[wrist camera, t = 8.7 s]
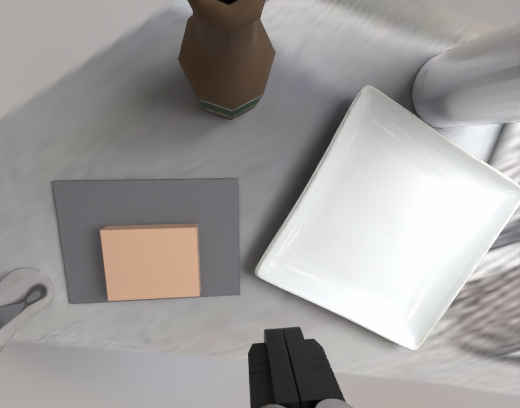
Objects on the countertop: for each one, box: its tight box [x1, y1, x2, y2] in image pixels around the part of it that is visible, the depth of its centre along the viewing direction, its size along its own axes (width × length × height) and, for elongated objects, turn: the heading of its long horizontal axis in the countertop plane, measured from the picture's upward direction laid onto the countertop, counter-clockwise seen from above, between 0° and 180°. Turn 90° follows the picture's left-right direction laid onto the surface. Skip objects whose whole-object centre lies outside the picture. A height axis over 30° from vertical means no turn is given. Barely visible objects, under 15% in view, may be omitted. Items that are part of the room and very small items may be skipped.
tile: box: [100, 223, 201, 301], centre depth 36 cm, size 2×9×11 cm
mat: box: [52, 178, 240, 304], centre depth 37 cm, size 22×16×1 cm
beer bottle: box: [178, 0, 275, 120], centre depth 23 cm, size 8×8×24 cm
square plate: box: [254, 85, 520, 351], centre depth 39 cm, size 27×27×4 cm
